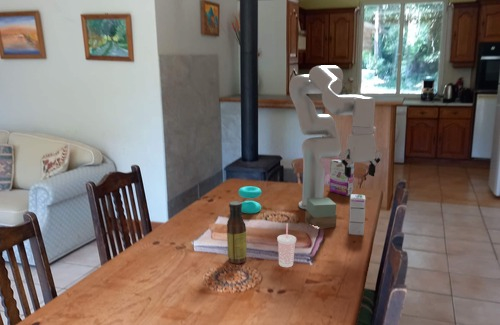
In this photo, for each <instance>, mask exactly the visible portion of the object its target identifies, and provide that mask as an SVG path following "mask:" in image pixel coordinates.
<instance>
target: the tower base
mask: <svg viewBox="0 0 500 325" xmlns="http://www.w3.org/2000/svg"><path fill="white" fill-rule="evenodd" d="M304 213H305V215H304V222H305V223H306V224H307V223H308V224H307V225H309V224H311V225H314V226H318V227H320V228H323V229H330V228H335V227H337V220H338V218H337V214H336V216H333V217H313V216H312V215H311V214H310V213H309V212H308V211H307V210H305V212H304Z"/></svg>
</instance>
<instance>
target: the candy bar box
mask: <svg viewBox="0 0 500 325" xmlns="http://www.w3.org/2000/svg"><path fill="white" fill-rule="evenodd" d="M355 163H356V162H353V163H352V164H351V165H350V167H351V177H350V178H348V177H346V176H345V166H344V164H343V163H342V162H341V160H340V158H339V159H338V158H335V159H331V160H330V173H329V174H330V176H329V192H330V193H335V194H338V195H342V196H346V197H350V195H351V194H354V181H355V180H354V177H355V165H356V164H355Z"/></svg>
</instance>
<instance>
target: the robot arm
mask: <svg viewBox="0 0 500 325" xmlns="http://www.w3.org/2000/svg"><path fill="white" fill-rule="evenodd" d="M343 80H344V73H343V70H342V68H340V66H337V65H316V66H314V67H312V68H311V69H310V70H309V73H308V74H305V73H304V74H298V75H295V76H293V77H292V78H291V79H290V81H289V86H288V87H289V88H288V90H289V96H290V100H291V101H292V103H293V105H294V108H295V111H296V115H297V120H298V123H299V127H300V131H301V133H302V135H304V136H305V137H309V138H306V139H305V140H304V141H303V142H302V144H301V152H302V161H303V166H302V168H303V172H302V174H303V175H302V198H301V201H299V202H298V207H299V208H300V209H302V210H305V211H307V198H324V197H325V196H324V195H325V178H326V177H325V175H326V169H325V165H324V164H323V162H322V160H323V159H332V158H337V157H338V158H339V160H341V162H342V163H343V164H344V166H345V176H346V177H348V178H350V177H351V167H350V165H351V164H352V163H353V162H355V163H362V162H364V163H365V162H369V163H370V164H368V175H369V176H371V177H375V174H376V166H377V165H378V164H379V162H380V161H381V159H382V157H383V155H384V154H383V152H380V151H378V150H376V147H377V146H376V138H375V134H374V132H376V131H377V127H375V126H374V124H375V109H376V99H375V98H374V97H372V96H364V95H361V94H340V93H341V92H342V90H343ZM307 94H308V95H310V94H311V95H312V94H313V95H314V94H317V95H318V94H319V95H320V94H321V101H322V105H323V106H324V108H326V110H327V111H328V112H329V113H331V114H332V115H334V116H352V123H351V124H352V126H351V128H352V129H351V133H349V135H348V139H347V144H346V149H345V151H344V152H342V143H341V140H340V135H339V132H338V127H337V123H336V121H335V119H334V117H333V116H332V115H330V114H328V113H327V114H326V113H320V114H319V113H318V112H317V110H316V106H315V103H314V102H313V101H312V99H311V98H310V96H308V95H307ZM316 136H317V137H316ZM341 152H342V153H341ZM345 158H346V159H345Z"/></svg>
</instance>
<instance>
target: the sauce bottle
mask: <svg viewBox="0 0 500 325" xmlns="http://www.w3.org/2000/svg"><path fill="white" fill-rule="evenodd" d="M228 204H229V212H230V213H229V217H228V219H227V223H226V239H227V240H226V241H227V257H228V261H229V262H230V263H232V264H236V265H237V264H238V265H239V264H242V263H243V264H244V263H245V262H246V261H247V255H248V252H247V251H248V250H247V247H248V246H247V228H246V227H247V226H246V223H245V220H244V218H243V212H242V209H241V208H242V202H241V201H239V200H237V201H235V200H234V201H230V202H229V203H228Z"/></svg>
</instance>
